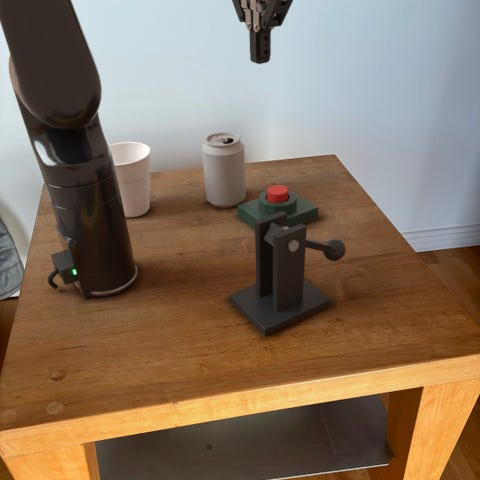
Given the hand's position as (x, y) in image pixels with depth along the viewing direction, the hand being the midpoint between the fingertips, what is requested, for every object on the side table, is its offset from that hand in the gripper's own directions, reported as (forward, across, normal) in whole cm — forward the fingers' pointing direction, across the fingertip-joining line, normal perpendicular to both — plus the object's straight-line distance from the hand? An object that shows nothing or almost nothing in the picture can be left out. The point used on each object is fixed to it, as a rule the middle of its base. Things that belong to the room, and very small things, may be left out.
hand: (260, 62), depth 66 cm
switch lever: (+20, +16, -4) cm, 26 cm away
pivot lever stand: (+27, +16, -8) cm, 32 cm away
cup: (+27, -22, -14) cm, 38 cm away
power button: (+23, -4, +6) cm, 24 cm away
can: (+27, -15, +2) cm, 31 cm away
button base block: (+27, -4, +6) cm, 28 cm away
